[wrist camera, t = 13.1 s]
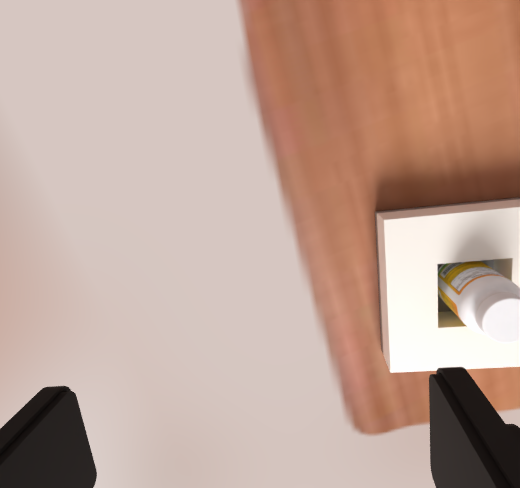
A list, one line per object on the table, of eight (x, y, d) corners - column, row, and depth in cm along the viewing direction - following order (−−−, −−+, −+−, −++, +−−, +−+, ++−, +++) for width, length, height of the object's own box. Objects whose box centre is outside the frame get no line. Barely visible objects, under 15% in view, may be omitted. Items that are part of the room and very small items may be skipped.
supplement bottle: (480, 307, 41) (534, 356, 31) (428, 300, 41) (466, 346, 32) (493, 258, 39) (554, 294, 30) (439, 251, 40) (482, 285, 30)
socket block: (374, 211, 40) (383, 220, 36) (541, 195, 38) (572, 201, 34) (381, 349, 44) (390, 372, 40) (533, 341, 42) (559, 364, 38)
